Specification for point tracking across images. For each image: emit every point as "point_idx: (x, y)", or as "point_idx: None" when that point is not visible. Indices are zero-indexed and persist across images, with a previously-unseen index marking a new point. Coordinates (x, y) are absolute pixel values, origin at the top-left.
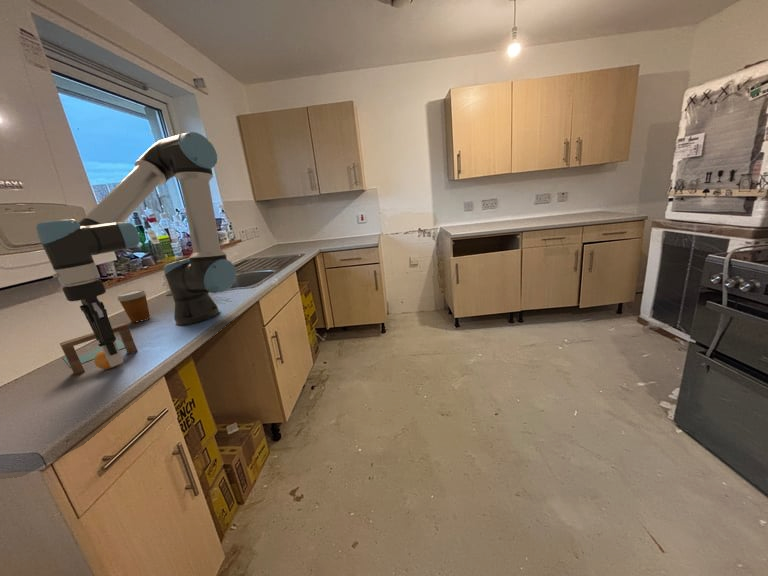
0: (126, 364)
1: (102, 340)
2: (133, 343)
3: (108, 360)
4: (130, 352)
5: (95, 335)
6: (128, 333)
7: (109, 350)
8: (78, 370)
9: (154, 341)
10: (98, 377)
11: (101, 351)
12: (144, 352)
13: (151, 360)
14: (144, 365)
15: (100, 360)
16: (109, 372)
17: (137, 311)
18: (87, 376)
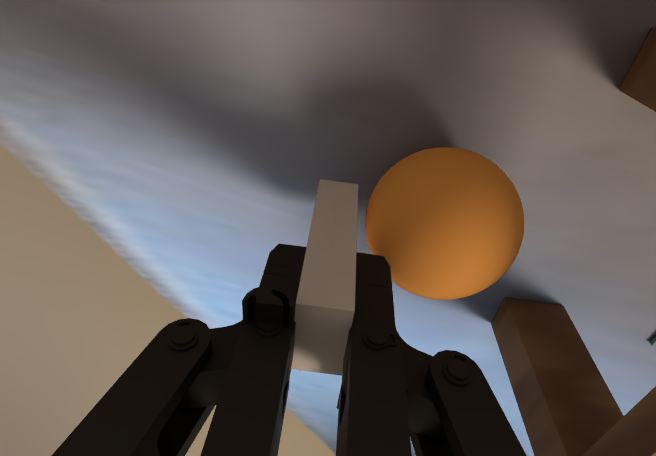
0: (364, 232)
1: (188, 359)
2: (507, 367)
3: (323, 207)
4: (505, 309)
5: (479, 410)
6: (536, 439)
7: (263, 277)
8: (651, 65)
9: None
10: (357, 88)
11: (455, 257)
12: (425, 324)
13: None
14: (224, 253)
15: (400, 188)
16: (358, 150)
17: None
18: (485, 61)
